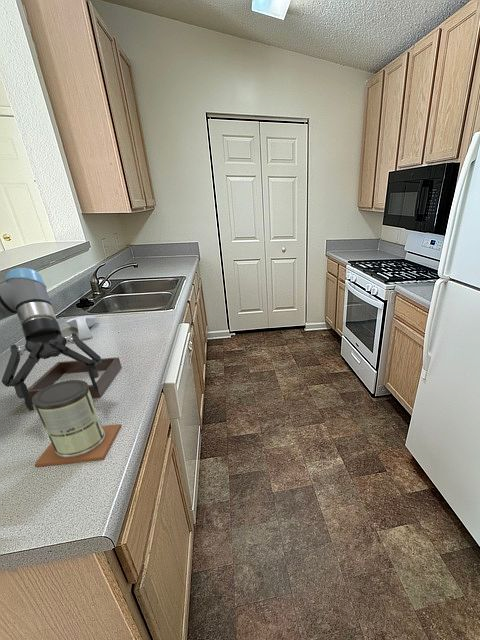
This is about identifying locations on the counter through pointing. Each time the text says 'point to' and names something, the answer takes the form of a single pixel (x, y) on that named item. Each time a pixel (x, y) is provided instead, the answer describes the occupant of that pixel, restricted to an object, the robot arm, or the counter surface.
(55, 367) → the rectangular frame
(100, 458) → the cork mat
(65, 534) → the counter surface
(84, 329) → the spoon rest
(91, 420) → the coffee can
